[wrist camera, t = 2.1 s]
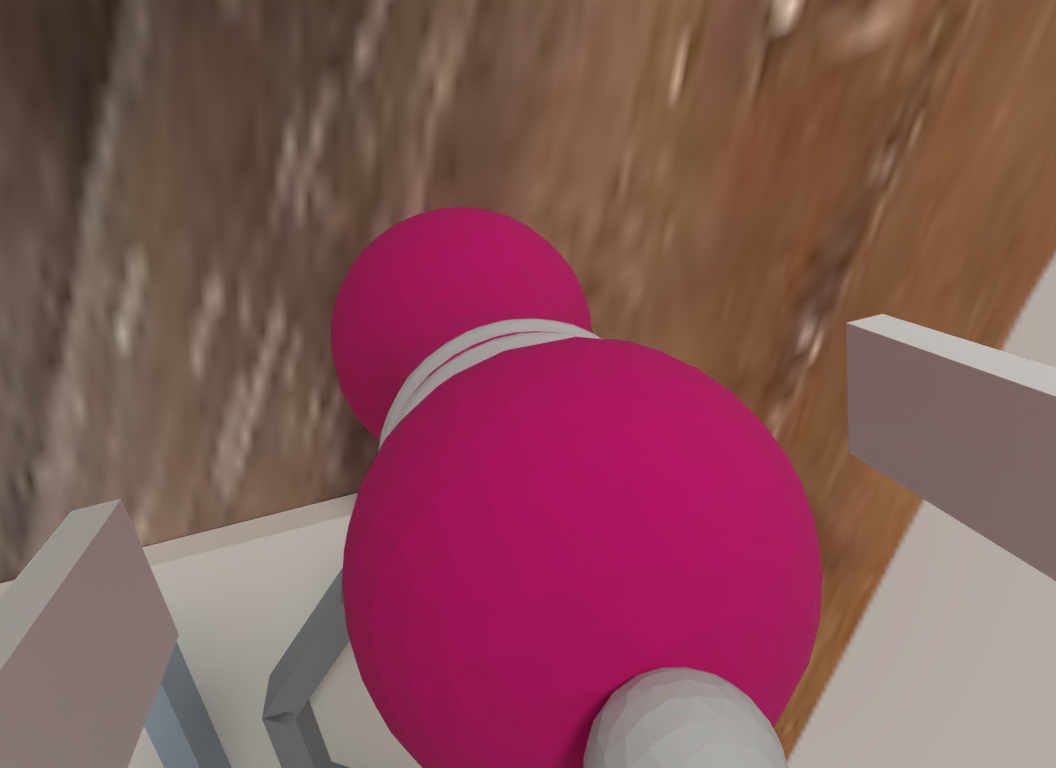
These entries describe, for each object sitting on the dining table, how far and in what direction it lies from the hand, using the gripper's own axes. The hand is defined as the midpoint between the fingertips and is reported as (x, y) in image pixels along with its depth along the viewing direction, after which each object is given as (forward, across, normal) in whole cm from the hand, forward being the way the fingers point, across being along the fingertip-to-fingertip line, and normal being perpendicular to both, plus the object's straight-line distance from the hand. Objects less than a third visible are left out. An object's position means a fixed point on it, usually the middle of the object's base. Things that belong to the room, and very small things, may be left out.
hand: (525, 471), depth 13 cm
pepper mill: (+12, 0, 0) cm, 13 cm away
